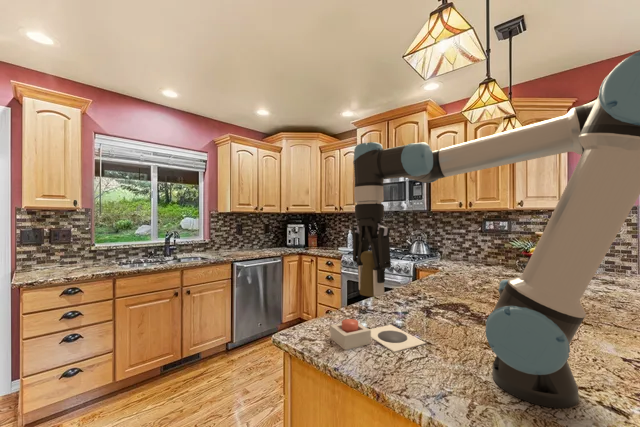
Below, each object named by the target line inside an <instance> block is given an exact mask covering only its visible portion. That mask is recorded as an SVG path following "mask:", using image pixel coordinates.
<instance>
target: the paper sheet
mask: <svg viewBox="0 0 640 427" xmlns="http://www.w3.org/2000/svg"><path fill="white" fill-rule="evenodd" d="M368 329H369V328H368ZM369 330H371V340H374V341H375V342H377V343H379V344H380V345H381V346H383V347H385V348H386V349H388V350H389V351H391V352H393V353H399V352H401V351H404V350H408V349H412V348H416V347H419V346H423V345H426V344H427V342H425V341H423V340H421V339H419V338H417V337H415V336H414V335H412V334H410V333H408V332H406V331H404V330H403V329H400V328H398V327H396V326H394V325H392V324H388V325H383V326H378V327H374V328H370V329H369Z"/></svg>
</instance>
